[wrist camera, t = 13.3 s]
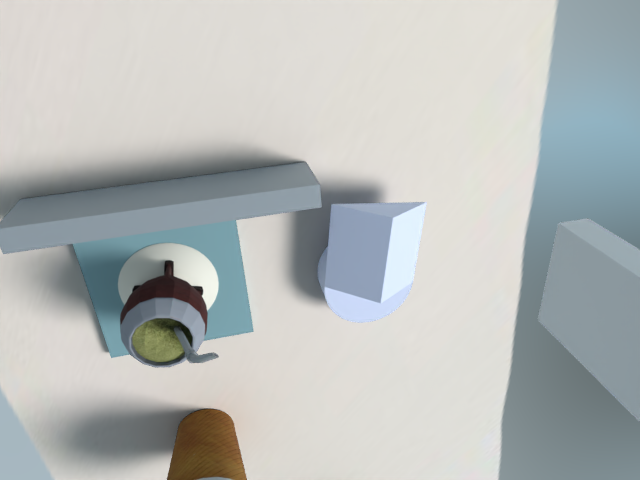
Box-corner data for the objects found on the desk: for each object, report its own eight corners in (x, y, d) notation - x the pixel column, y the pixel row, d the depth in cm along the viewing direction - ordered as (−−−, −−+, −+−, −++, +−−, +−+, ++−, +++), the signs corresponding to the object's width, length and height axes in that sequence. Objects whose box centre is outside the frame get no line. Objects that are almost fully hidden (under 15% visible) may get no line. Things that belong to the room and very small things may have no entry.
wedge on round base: (323, 190, 45) (314, 306, 51) (341, 219, 40) (329, 346, 45) (412, 189, 47) (395, 301, 53) (442, 216, 41) (418, 339, 47)
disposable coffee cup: (160, 460, 56) (150, 567, 45) (165, 397, 52) (155, 498, 42) (242, 457, 59) (251, 557, 48) (253, 397, 55) (265, 491, 44)
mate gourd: (129, 320, 46) (100, 449, 33) (127, 246, 43) (94, 357, 30) (210, 320, 48) (212, 442, 35) (214, 249, 45) (219, 354, 32)
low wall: (20, 198, 40) (-7, 229, 35) (306, 161, 44) (320, 184, 38) (28, 221, 41) (3, 254, 36) (307, 182, 45) (321, 207, 39)
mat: (70, 226, 42) (67, 230, 41) (233, 203, 44) (233, 207, 43) (112, 352, 48) (111, 358, 47) (252, 326, 50) (253, 332, 50)
